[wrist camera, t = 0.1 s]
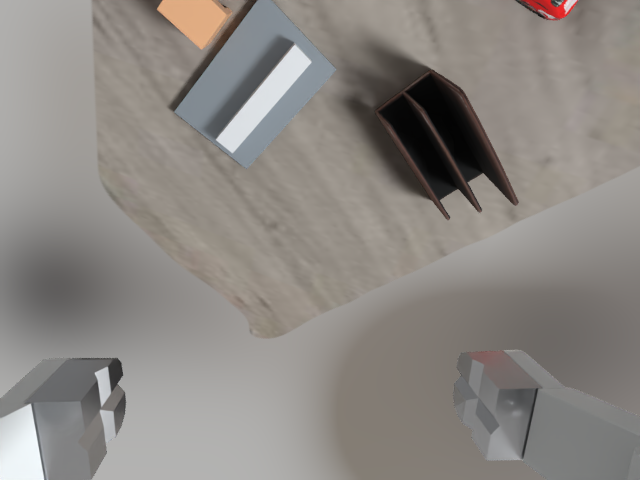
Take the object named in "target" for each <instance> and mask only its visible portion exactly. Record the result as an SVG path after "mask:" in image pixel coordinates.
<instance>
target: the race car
mask: <svg viewBox="0 0 640 480" xmlns="http://www.w3.org/2000/svg"><path fill="white" fill-rule="evenodd" d="M516 1H517V2H519V3H520V4H522V5H523V6H525V7H526V8H528V9H529V10H533V12H535V13H536V14H538V16H540V17H543V18H544V19H547V20H560V19H562V18H564V17H565V16H567V15H568V14H569V13H570V11H571V10H572V9H573V7H574V6H575V5H576V3H577V2H578V0H516Z"/></svg>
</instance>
